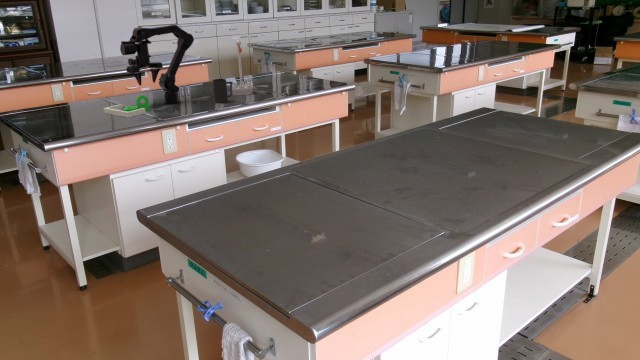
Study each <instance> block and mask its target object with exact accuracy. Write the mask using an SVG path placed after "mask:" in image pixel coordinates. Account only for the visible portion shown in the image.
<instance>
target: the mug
mask: <svg viewBox="0 0 640 360" xmlns="http://www.w3.org/2000/svg"><path fill="white" fill-rule="evenodd" d="M232 84H233V82H232V81H227V79H226V78H215V79H212V89H213V99H214V104H217V103H223V104H227V103H229V98H231V97H232V95H233V91H232ZM227 85H229V87H230V94H229V95H228V87H227Z"/></svg>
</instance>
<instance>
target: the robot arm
mask: <svg viewBox="0 0 640 360" xmlns="http://www.w3.org/2000/svg"><path fill="white" fill-rule="evenodd" d="M167 34H173V36H175V38H176V39H177V41H176V44H177V46H176V49H175V52H174V54H173V56H172V59H171V61H170V62H169V66H168V67H167V71H166V72H165V73H164V72H161V74H160V76H159V78H158V75H159V72H160V71H161V70H162V68H164V66H163V63H162V62H159V61H154V62H151V57H152V55H151V54H150V52H149V51H150V50H149V45H150V44H152V41H151V40H149V39H150V38H152V37H155V36H160V35H167ZM194 40H195V37H194V36H193V35H192V34H191V33H188V32H187V31H185V30H184V29H182V28H181V27H179V26H178V25H177V24H170V25H164V26H157V27H151V28H150V27H135V28H133V30H132V35H131V37H130V39H129V40H128V41H127V40H126V41H125V40H124V41H120V48H119V51H120V53H121V55H122V56H129V55H130V56H131V55H135V58H134V59H133V58H132V57H131V58H128V59H127V63H128V66H126V73H129V74H131V75H133V76H134V78H135V80H136V81H137V84H138V85H139V86H142V84H143V83H142V72H141V70H147V69H149V70H150V72H151V80H152V83H154V84H155V83H156V80H157V79H158V85H159V88H161V89H162V90H163V92H164V102H163V103H164V104H167V105H174V104H178V103H179V104H180V103H181V102H182V101H181V100H179V94H178V93H179V91H180V87H179V86H177V85H176V75H177V72H178V70H179V67H180V65H181V63H182V61H183V58H184V56H185V54H186V52H187V50H188V49H190V47H191V46H192V45H193V43H194Z"/></svg>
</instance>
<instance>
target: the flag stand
mask: <svg viewBox="0 0 640 360" xmlns="http://www.w3.org/2000/svg"><path fill="white" fill-rule="evenodd" d="M235 45H236V47H237V57H238V58H237V59H238V72H239V84H237V82H232V95H233V96H249V95H252V93H253V89H254V83H252V82H250V81H249V82H246V83H245V82H244V80H243V79H244V77H243V68H242V67H243V66H242V52H243V49H242V47H241V45H242V41H241V40H239V39H237V40H236V41H235Z"/></svg>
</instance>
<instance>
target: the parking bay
mask: <svg viewBox="0 0 640 360" xmlns="http://www.w3.org/2000/svg"><path fill="white" fill-rule="evenodd" d="M103 113H104V114H107V115H112V116H119V117H123V118H132V117H136V116H140V115H143V114H146V111H145V108H141V109H137V110H133V111H129V112H127V111H124V107H123V104H122V103H121V104H116V105H111V106H107V107H103Z"/></svg>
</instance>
